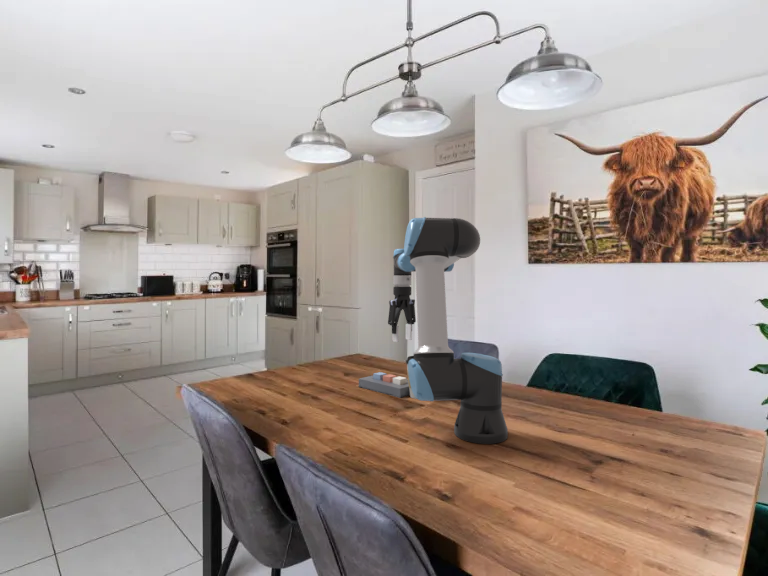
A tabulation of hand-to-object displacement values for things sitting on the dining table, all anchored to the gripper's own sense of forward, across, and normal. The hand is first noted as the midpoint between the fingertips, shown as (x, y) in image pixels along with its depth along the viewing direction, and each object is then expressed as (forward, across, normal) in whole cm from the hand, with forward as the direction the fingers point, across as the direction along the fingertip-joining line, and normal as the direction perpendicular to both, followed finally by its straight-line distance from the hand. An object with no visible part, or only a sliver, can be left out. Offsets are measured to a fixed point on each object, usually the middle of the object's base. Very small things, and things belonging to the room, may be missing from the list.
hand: (402, 340), depth 181 cm
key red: (+16, -8, 0) cm, 18 cm away
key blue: (+16, -7, +6) cm, 19 cm away
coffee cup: (+19, -8, -15) cm, 26 cm away
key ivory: (+16, -8, -5) cm, 19 cm away
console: (+19, -8, 0) cm, 21 cm away
